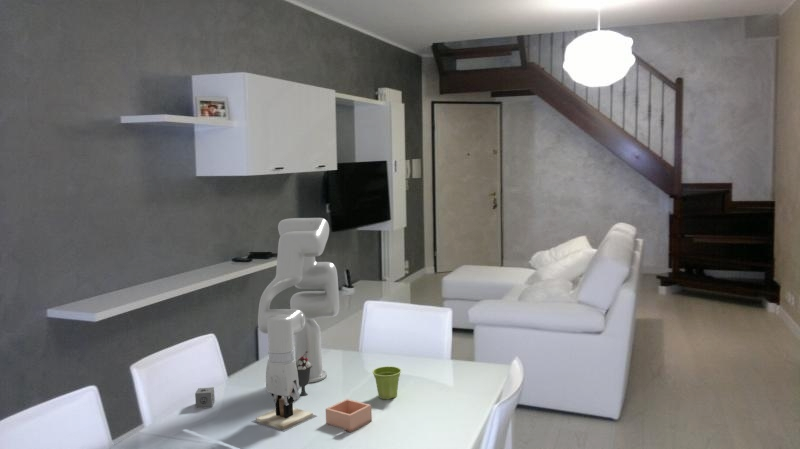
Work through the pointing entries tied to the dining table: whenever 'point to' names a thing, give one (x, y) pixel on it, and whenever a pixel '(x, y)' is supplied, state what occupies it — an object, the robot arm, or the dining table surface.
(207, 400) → the dice cube
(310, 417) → the mat
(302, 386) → the sundae
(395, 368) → the plant pot
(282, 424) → the wooden lid with knob
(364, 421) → the salmon pink open box
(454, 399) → the dining table surface
